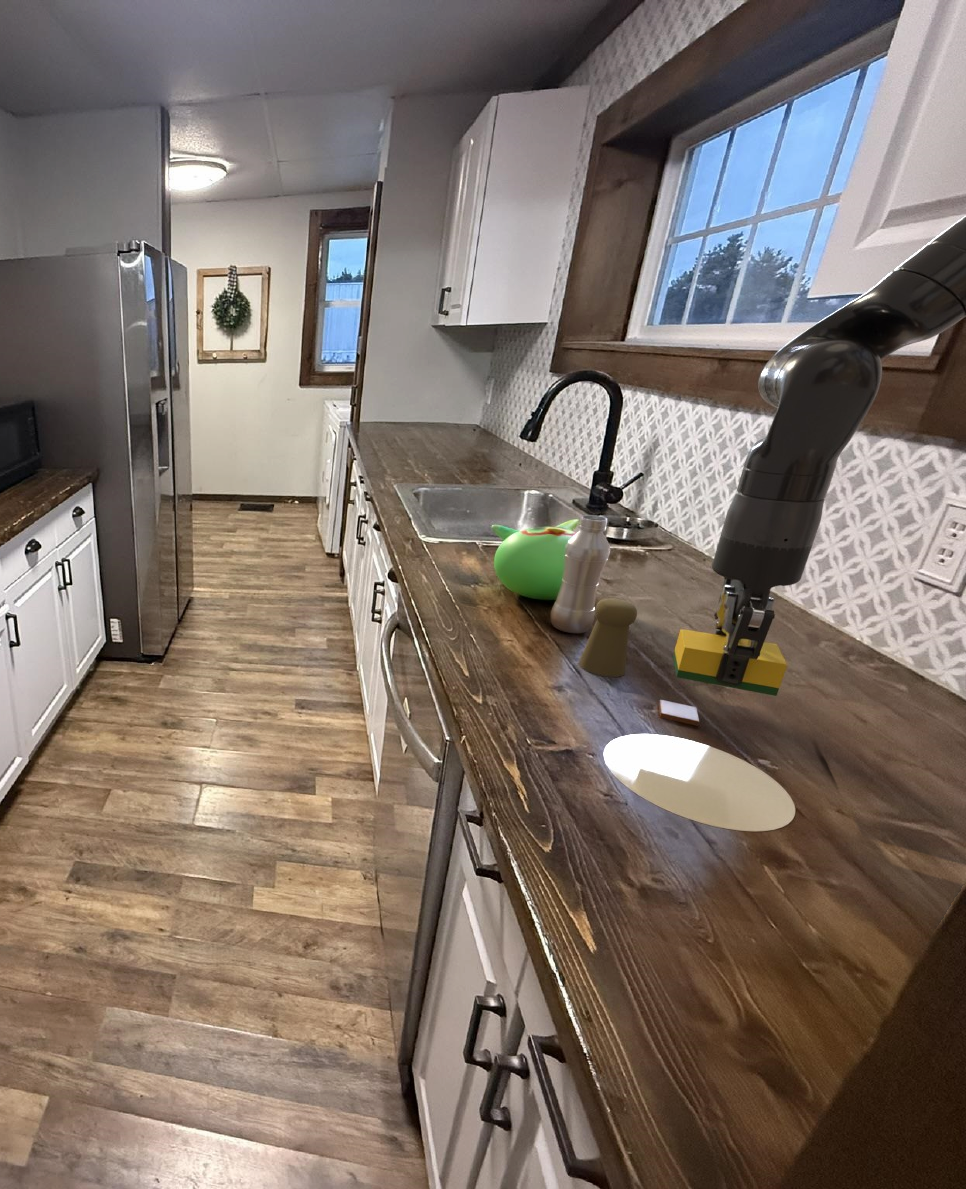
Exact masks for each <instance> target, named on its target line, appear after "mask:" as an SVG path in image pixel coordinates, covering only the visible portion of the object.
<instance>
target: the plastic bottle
mask: <svg viewBox="0 0 966 1189" xmlns="http://www.w3.org/2000/svg"><path fill="white" fill-rule="evenodd" d="M607 523H608V518H607V517H605V516H600V515H594V514H585V515H582V516H581V517H580V521H579V523H578V528H579V531H578V532H577V533H576V534H575V535H574V536H573V537H572V538H571V539H570V540H569V541H568V543H567V544H566V546H565V556H564V570H563V578H562V583H561V586H560V589H559V593H558V596H557V599H556V600H554V602H553V605H552V606H551V607H552V608H551V610H550V623H551V625H552V627H553V628H555V629H557V630H559V631H561V632H564V633H569V634H584V633H586V632H587V631H589V630H590V629H591V628H592V626H593V623H594V621H595V607H596V599H597V592H598V587H599V582H600V581H601V578H602V574H603V571H604V569H605V566H606V565H607V562H608V559H609V557H610V554H611V546H610V545H611V544H610V543H609V541H608V539H607V537H606V535H605V534H604V532H606V530H607Z"/></svg>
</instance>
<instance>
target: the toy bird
mask: <svg viewBox="0 0 966 1189" xmlns="http://www.w3.org/2000/svg"><path fill="white" fill-rule="evenodd" d="M579 524H580V519H577V518H573V519H570V520H567V521H565V522H563V523H560V524H558V525H556V526H535V527H529V528H526V529H522V530H517V529H515V528H511V527H508V526H504V525H501V524H492V525H491V530H492V531H493V533H494V534H496V535H497V536H498V537H499V538H500V540H502V542H501V543H500V545H499V546H498V547H497V549H496V551H495V554H494V559H493V566H494V573H495V575H496V577H497V578H498V580H499V582H500V583H501V584H502V585H503V586H504V587H505V588H506V589H508V590H509V591H511V592H513V593H515V594H516V595H519V596H521V597H524V598H528V599H534V600H539V601H556V599H557V596H558V593H559V589H560V586H561V583H562V578H563V570H564V556H565V546H566V544H567V543H568V541H569V540H570V539H571V538H572V537H573V536H574V535H575V534H576V533H578V532H577V531H575V529H576V528H577V527H578V526H579Z"/></svg>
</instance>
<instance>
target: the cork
mask: <svg viewBox="0 0 966 1189" xmlns="http://www.w3.org/2000/svg"><path fill="white" fill-rule="evenodd" d="M594 607H595V616H594V618H596V621H595V623H594V625H593V627H592V630H591V633H590V635H589V637H588V639H587V642H586V644H585V647H584V649H583V651H582V654H581V656H580V659H579V661H578V666H579V667H580V668H582V669H583V670H584V671H587V672H588V673H591V674H593V675H597V676H601V677H608V678H618V677H619V678H620V677H622V676H624V675H625V674H626V665H627V655H628V644H629V635H630V634H629V633H630V632H629V631H630V626H631V625H632V624H634V623H635V621H636V619H637V618H638V617H637V616H638V609H637V607H636V605H635V604H633V603H632V602H630V601H627V600H624V599H620V598H613V597H609V598H603V599H600V600H599V601H598V602H597V603H596V604H595V606H594Z"/></svg>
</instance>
